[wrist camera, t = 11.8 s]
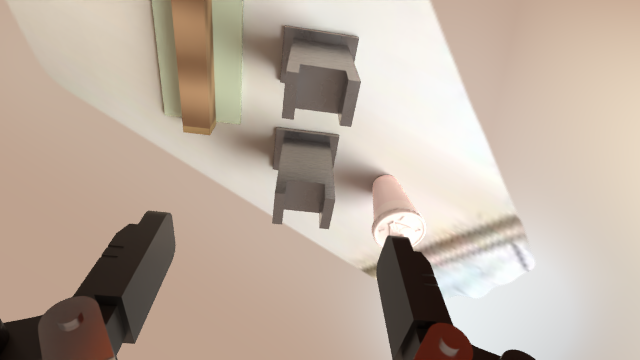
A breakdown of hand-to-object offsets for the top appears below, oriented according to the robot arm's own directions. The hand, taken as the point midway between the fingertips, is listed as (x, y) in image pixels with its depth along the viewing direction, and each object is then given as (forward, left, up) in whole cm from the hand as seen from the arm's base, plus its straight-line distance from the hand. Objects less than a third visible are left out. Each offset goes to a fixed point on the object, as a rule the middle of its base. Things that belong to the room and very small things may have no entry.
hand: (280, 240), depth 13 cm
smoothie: (+17, +14, -30) cm, 37 cm away
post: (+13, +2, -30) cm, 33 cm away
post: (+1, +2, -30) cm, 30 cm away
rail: (+2, -11, -30) cm, 32 cm away
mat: (+2, -11, -30) cm, 32 cm away
